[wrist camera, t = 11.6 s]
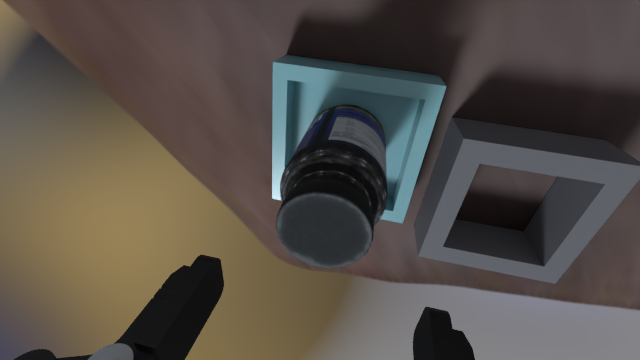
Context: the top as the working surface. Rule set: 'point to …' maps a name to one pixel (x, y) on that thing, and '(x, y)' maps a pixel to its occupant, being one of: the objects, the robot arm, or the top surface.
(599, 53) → the top surface
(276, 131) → the tray
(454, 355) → the robot arm
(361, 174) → the pill bottle
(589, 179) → the holder
